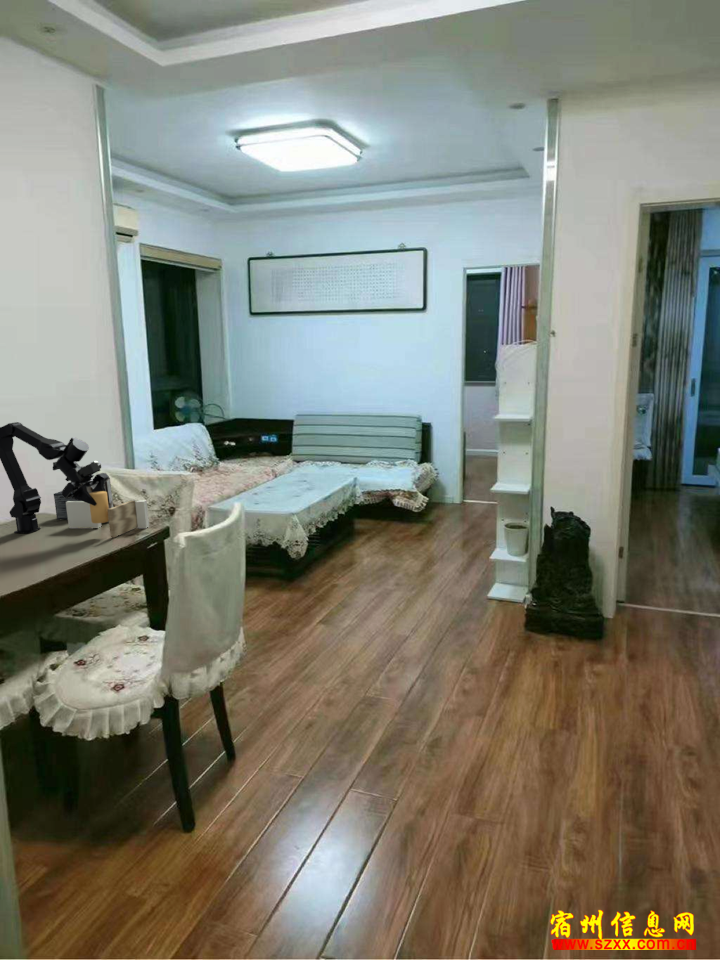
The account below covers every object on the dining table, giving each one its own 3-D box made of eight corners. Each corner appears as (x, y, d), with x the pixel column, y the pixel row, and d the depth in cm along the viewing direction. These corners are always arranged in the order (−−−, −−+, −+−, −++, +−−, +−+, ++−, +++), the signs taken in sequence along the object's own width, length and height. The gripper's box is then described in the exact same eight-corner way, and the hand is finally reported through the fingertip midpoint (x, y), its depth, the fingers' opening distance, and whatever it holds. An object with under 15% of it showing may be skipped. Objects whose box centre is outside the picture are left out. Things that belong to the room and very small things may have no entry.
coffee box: (115, 517, 261) (110, 477, 258) (112, 522, 255) (107, 480, 251) (90, 519, 259) (85, 479, 256) (87, 524, 253) (82, 482, 250)
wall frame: (149, 526, 246) (146, 500, 244) (146, 528, 244) (143, 501, 242) (71, 526, 250) (68, 500, 248) (68, 528, 247) (64, 502, 245)
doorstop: (90, 523, 231) (87, 495, 229) (93, 519, 236) (90, 492, 234) (108, 522, 232) (105, 494, 230) (111, 518, 238) (108, 490, 236)
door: (135, 526, 246) (132, 499, 244) (139, 526, 246) (136, 499, 244) (110, 537, 233) (107, 509, 231) (114, 537, 232) (111, 509, 230)
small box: (90, 515, 267) (87, 489, 265) (81, 519, 260) (78, 493, 258) (64, 515, 268) (61, 490, 266) (56, 519, 261) (52, 493, 259)
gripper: (64, 459, 222) (95, 493, 221) (101, 450, 239) (131, 481, 238) (48, 481, 226) (78, 515, 225) (86, 471, 243) (114, 502, 242)
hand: (101, 502), depth 232 cm, fingers closed on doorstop, 6 cm apart
